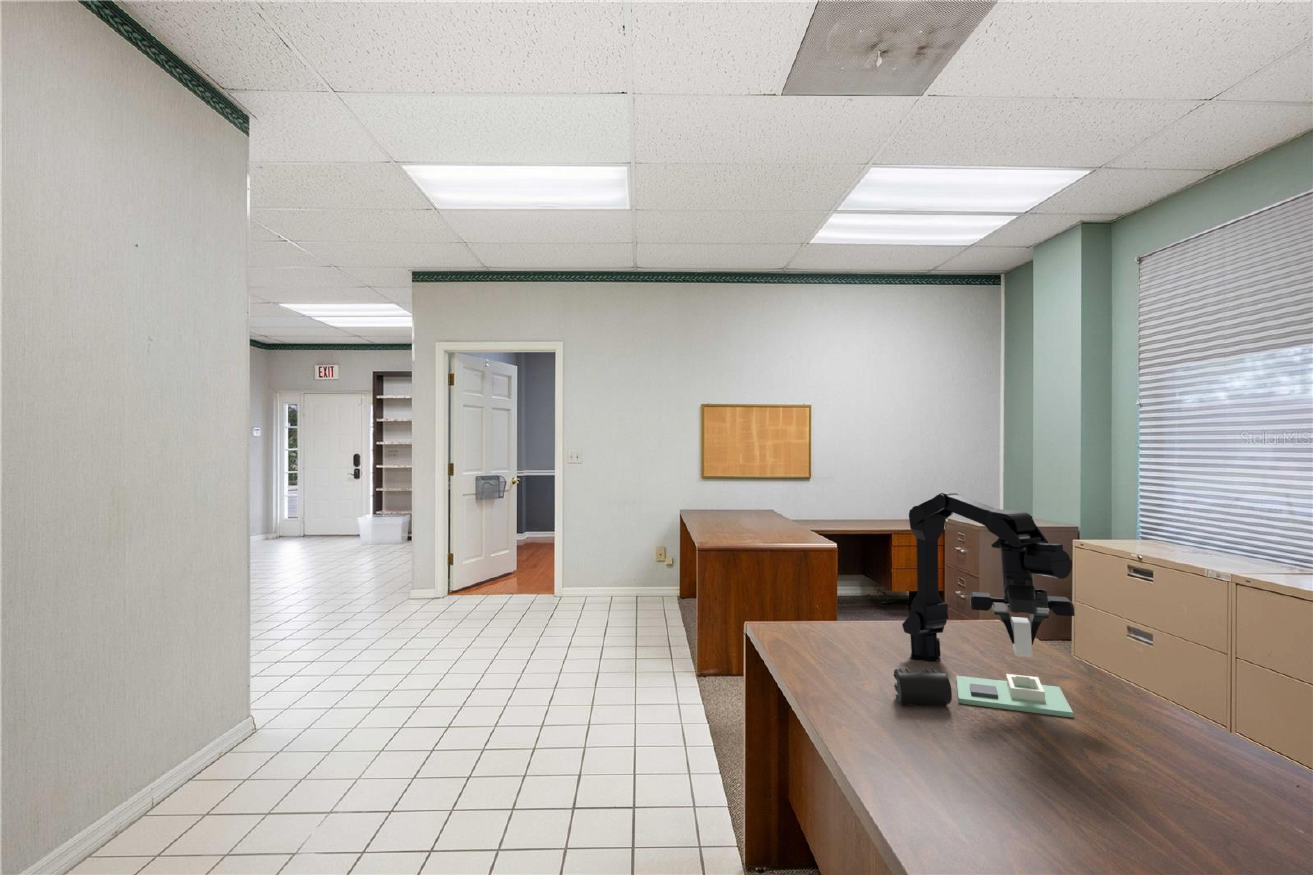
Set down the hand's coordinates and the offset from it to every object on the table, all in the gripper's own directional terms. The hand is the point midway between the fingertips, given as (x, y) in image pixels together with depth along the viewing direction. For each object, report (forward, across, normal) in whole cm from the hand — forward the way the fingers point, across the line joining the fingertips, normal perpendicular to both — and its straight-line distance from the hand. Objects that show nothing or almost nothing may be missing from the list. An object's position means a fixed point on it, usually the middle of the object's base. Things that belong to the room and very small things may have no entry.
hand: (1022, 644), depth 124 cm
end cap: (+12, -20, -11) cm, 26 cm away
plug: (+2, 0, 0) cm, 2 cm away
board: (+11, -3, -1) cm, 12 cm away
